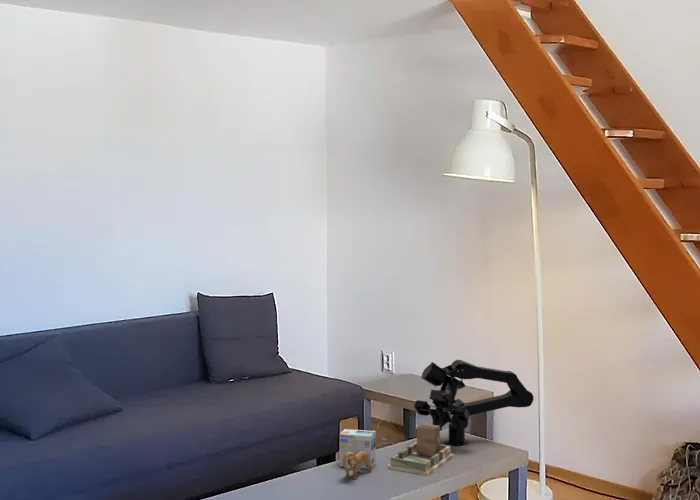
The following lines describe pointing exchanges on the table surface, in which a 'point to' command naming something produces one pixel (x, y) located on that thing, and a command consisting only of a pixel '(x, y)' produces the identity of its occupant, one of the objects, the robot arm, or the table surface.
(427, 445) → the walnut block
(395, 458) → the beige flat tray
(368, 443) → the light bulb box
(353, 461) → the lion figurine
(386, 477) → the table surface
